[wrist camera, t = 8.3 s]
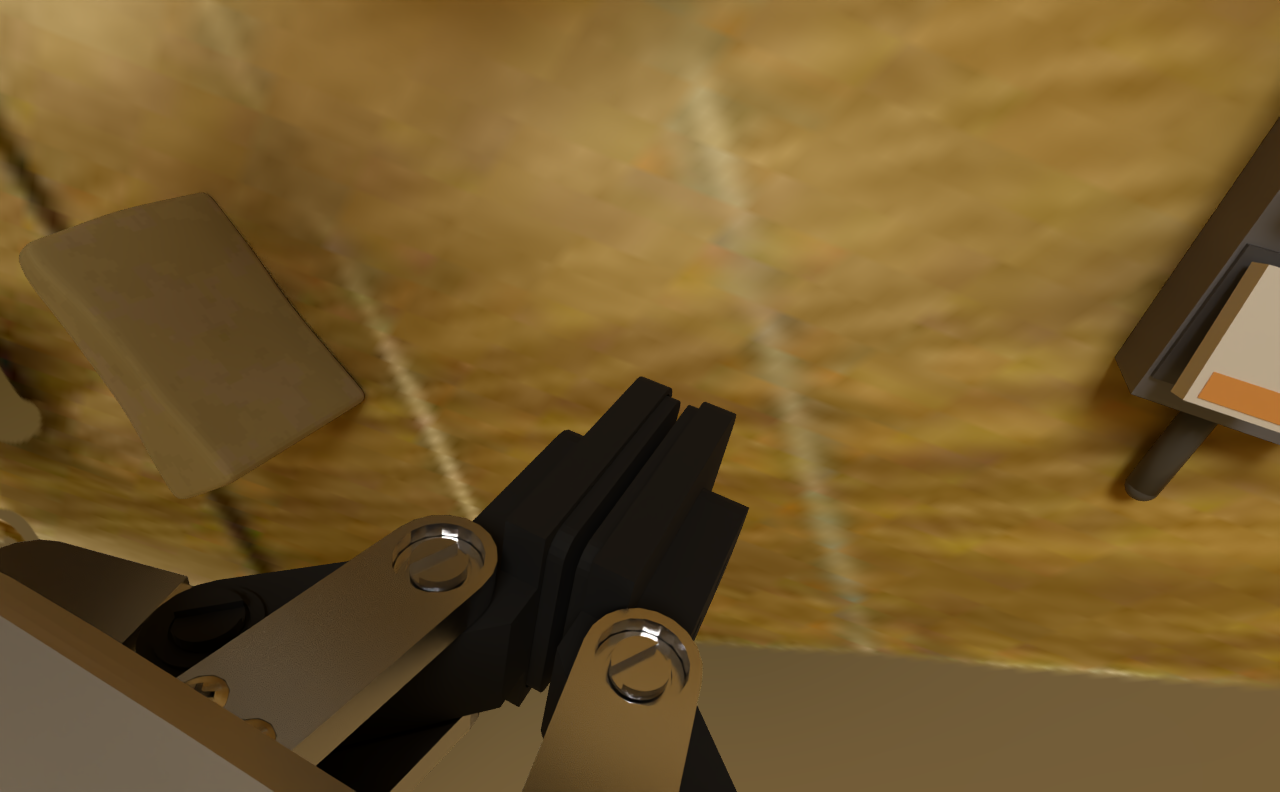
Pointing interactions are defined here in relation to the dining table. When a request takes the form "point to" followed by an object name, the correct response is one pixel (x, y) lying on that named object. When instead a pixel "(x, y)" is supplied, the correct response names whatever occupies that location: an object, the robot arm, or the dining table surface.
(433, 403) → the dining table surface
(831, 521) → the dining table surface
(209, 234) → the beige slab
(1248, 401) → the block
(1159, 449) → the power strip
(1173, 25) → the dining table surface
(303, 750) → the robot arm
